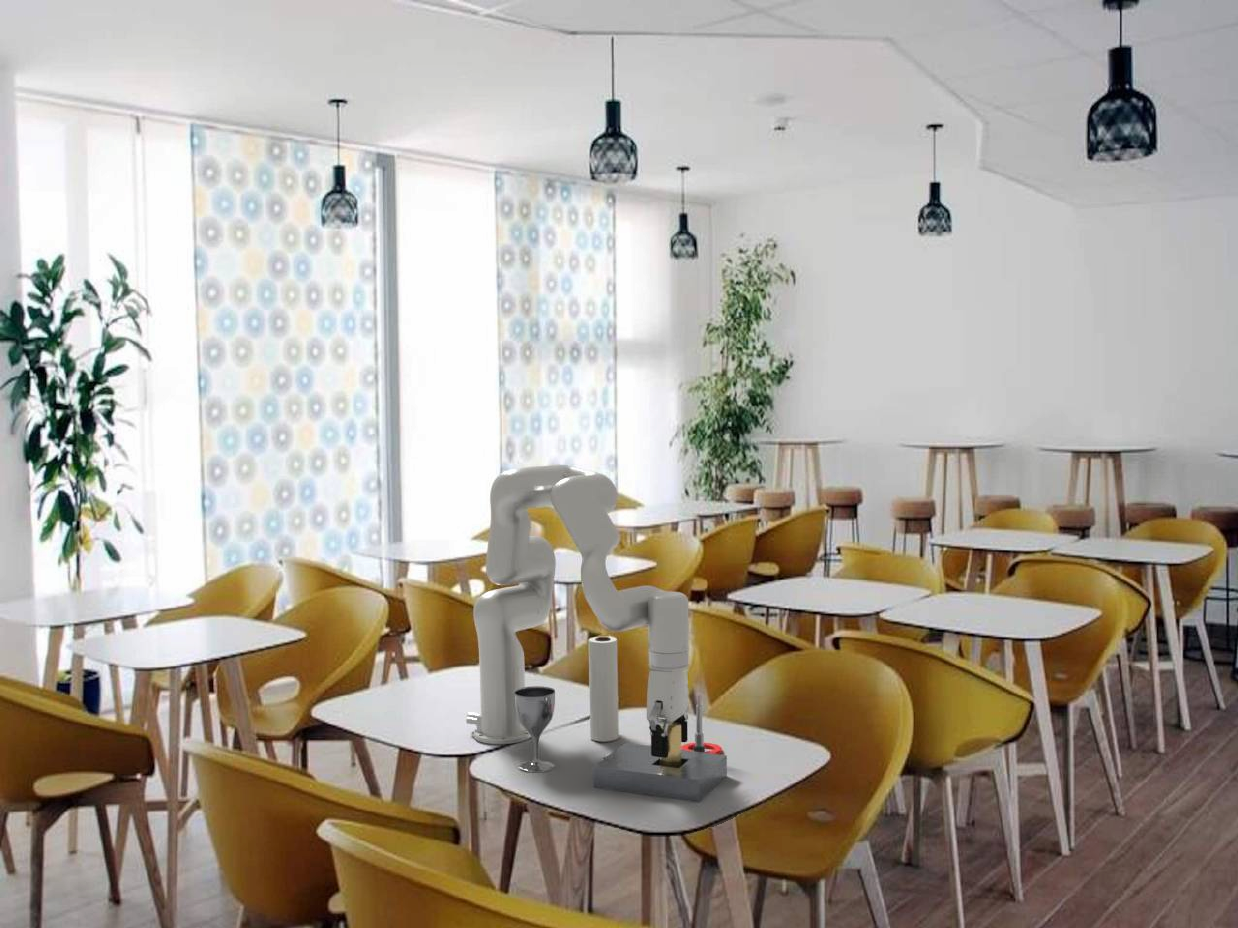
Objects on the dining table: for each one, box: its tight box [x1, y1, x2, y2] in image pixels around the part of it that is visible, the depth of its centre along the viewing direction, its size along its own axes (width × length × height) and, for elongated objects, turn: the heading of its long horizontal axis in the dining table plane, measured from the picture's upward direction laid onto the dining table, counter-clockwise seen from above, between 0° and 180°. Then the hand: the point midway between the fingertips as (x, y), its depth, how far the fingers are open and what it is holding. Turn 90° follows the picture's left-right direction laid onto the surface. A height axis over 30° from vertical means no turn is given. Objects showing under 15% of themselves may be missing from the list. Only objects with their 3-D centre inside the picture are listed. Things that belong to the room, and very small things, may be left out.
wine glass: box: [515, 685, 556, 774], centre depth 231 cm, size 8×8×15 cm
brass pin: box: [659, 722, 682, 768], centre depth 221 cm, size 4×4×11 cm
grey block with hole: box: [592, 742, 728, 803], centre depth 222 cm, size 21×15×4 cm
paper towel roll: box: [588, 634, 620, 743], centre depth 249 cm, size 7×6×21 cm
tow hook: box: [681, 693, 723, 755], centre depth 239 cm, size 8×13×9 cm
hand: (669, 748), depth 221 cm, fingers open, 9 cm apart
